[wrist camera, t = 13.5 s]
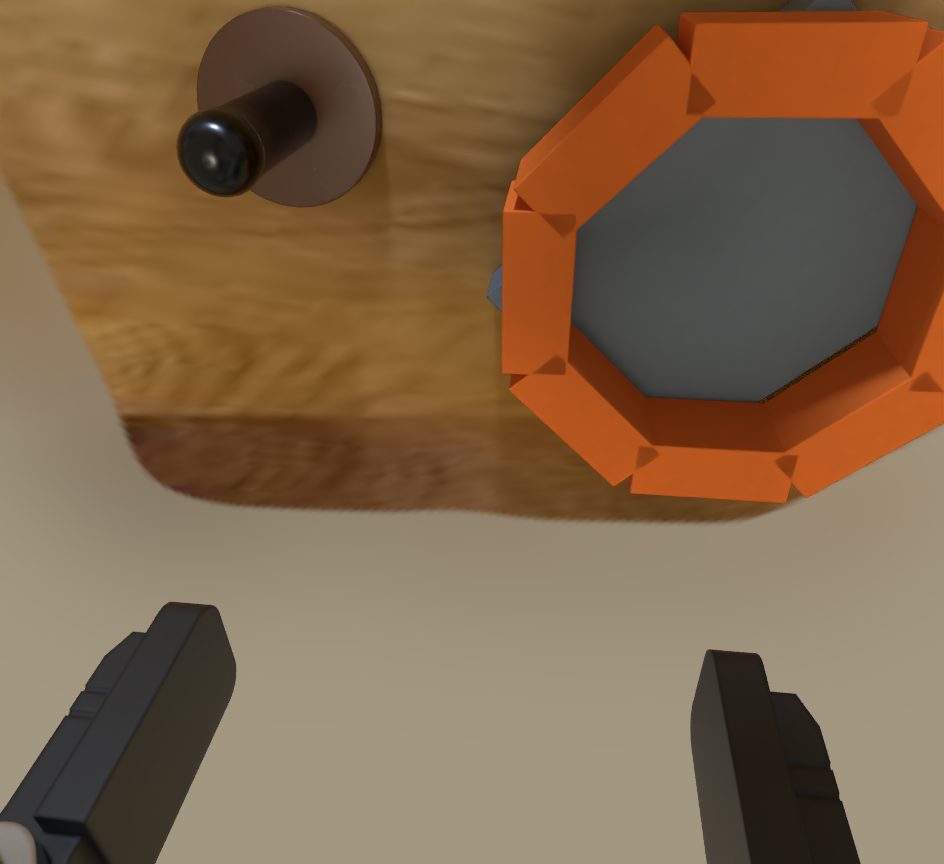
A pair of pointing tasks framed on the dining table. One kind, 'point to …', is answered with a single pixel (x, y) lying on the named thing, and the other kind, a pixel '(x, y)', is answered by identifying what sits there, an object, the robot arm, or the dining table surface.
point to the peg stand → (281, 111)
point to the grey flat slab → (741, 254)
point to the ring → (637, 146)
